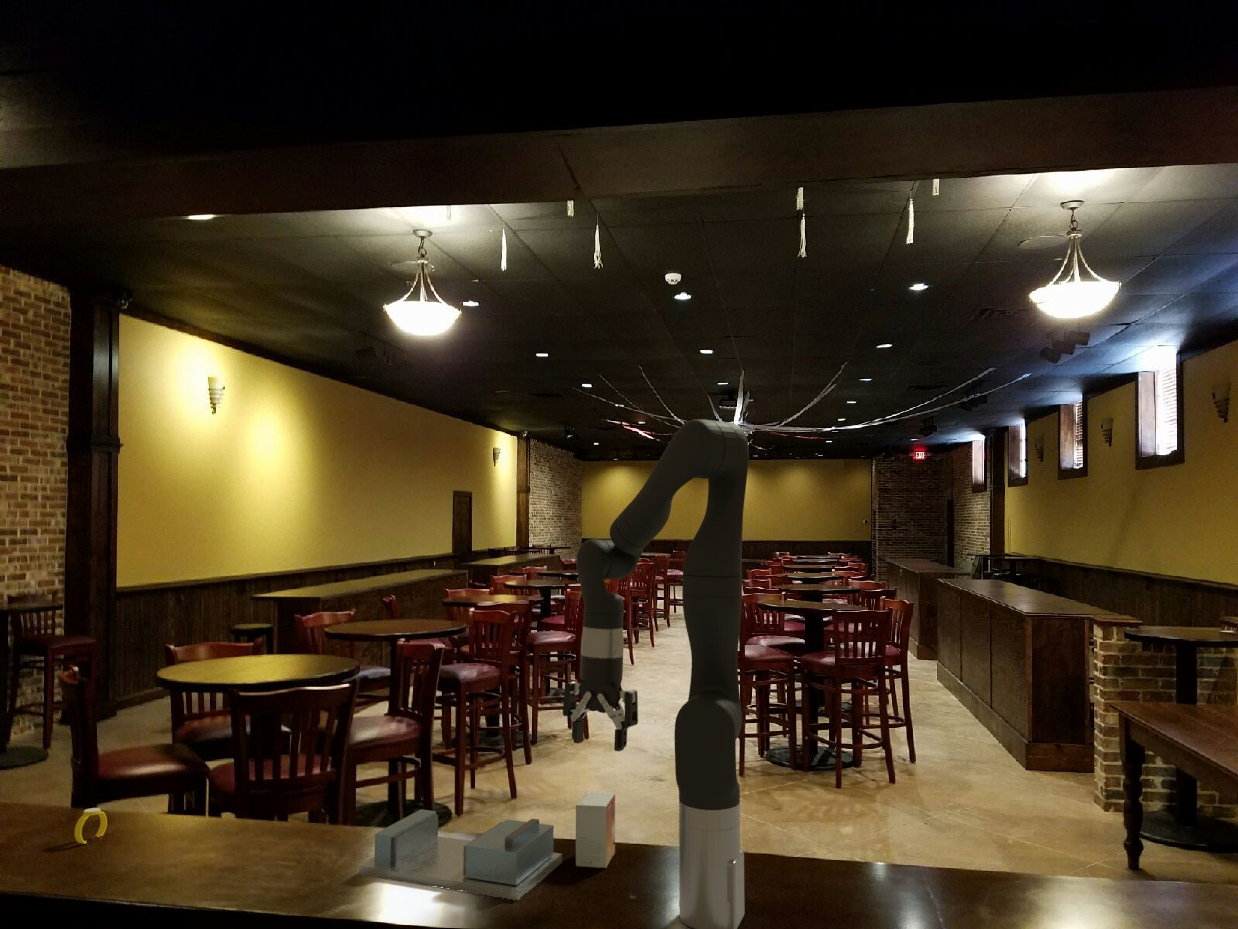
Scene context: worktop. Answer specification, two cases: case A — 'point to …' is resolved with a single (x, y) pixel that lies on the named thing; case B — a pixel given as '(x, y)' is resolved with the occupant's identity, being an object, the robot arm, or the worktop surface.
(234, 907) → the worktop surface
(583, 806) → the small box
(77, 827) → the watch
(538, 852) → the sliding jaw
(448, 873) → the vise base
